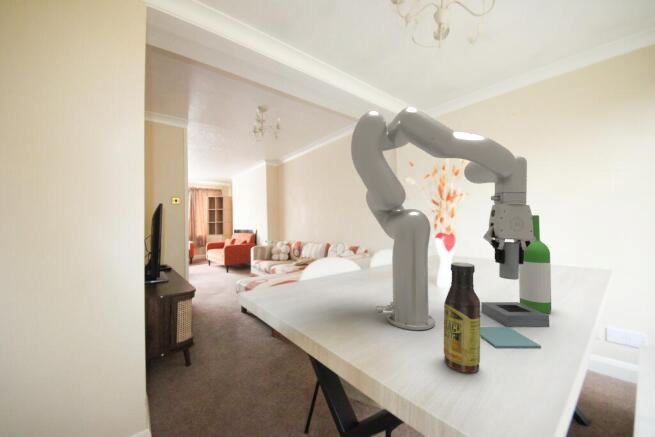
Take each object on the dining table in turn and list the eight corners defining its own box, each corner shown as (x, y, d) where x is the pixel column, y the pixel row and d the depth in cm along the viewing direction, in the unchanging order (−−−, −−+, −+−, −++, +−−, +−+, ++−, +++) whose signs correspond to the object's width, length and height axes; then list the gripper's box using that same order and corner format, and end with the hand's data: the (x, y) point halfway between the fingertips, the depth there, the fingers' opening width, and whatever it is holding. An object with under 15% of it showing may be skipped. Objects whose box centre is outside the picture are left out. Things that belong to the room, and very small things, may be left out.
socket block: (506, 326, 67) (506, 315, 67) (481, 311, 78) (481, 302, 78) (549, 326, 67) (549, 315, 67) (517, 311, 78) (517, 302, 78)
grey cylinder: (522, 280, 70) (522, 243, 70) (503, 279, 71) (504, 242, 71) (513, 277, 74) (514, 242, 74) (496, 275, 75) (496, 241, 75)
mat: (495, 348, 55) (495, 345, 55) (470, 328, 65) (470, 327, 65) (541, 348, 55) (541, 345, 55) (509, 329, 65) (509, 327, 65)
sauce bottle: (437, 357, 52) (436, 261, 52) (466, 356, 52) (465, 260, 53) (456, 377, 45) (455, 266, 45) (489, 375, 46) (487, 265, 46)
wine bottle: (526, 313, 76) (524, 215, 77) (515, 305, 84) (513, 215, 84) (557, 315, 74) (555, 214, 75) (542, 307, 82) (541, 215, 82)
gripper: (488, 198, 69) (487, 264, 69) (550, 200, 69) (549, 266, 69) (473, 200, 77) (472, 260, 76) (529, 202, 77) (528, 262, 76)
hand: (509, 262), depth 73 cm, fingers closed on grey cylinder, 4 cm apart
